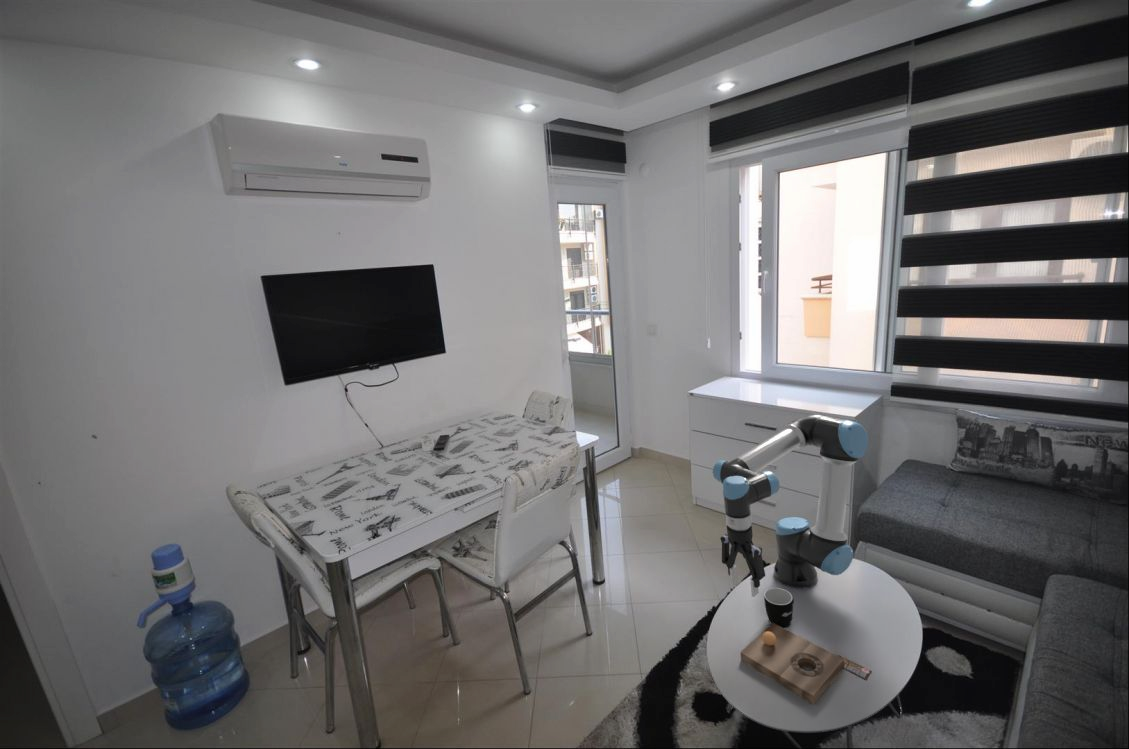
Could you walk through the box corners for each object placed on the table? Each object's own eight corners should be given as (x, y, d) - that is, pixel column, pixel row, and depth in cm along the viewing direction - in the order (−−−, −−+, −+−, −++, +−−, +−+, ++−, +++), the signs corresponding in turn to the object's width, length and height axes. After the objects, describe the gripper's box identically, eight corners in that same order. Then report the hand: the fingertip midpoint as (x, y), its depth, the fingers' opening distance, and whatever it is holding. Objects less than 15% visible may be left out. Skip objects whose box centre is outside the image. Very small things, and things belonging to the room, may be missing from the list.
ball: (767, 637, 160) (766, 626, 159) (779, 643, 157) (778, 632, 156) (760, 644, 158) (759, 633, 157) (771, 650, 154) (771, 639, 154)
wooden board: (741, 660, 156) (740, 652, 156) (772, 630, 166) (772, 622, 166) (813, 704, 138) (813, 695, 137) (844, 667, 148) (843, 659, 147)
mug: (783, 635, 163) (781, 608, 161) (760, 621, 171) (758, 595, 169) (805, 618, 169) (804, 592, 167) (782, 605, 177) (780, 580, 175)
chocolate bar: (875, 673, 145) (875, 671, 145) (868, 683, 142) (868, 681, 142) (836, 654, 153) (836, 652, 153) (829, 663, 151) (829, 661, 150)
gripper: (705, 520, 161) (712, 582, 166) (760, 541, 145) (766, 609, 150) (719, 511, 165) (725, 572, 170) (775, 530, 149) (779, 597, 154)
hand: (744, 589), depth 160 cm, fingers open, 7 cm apart
